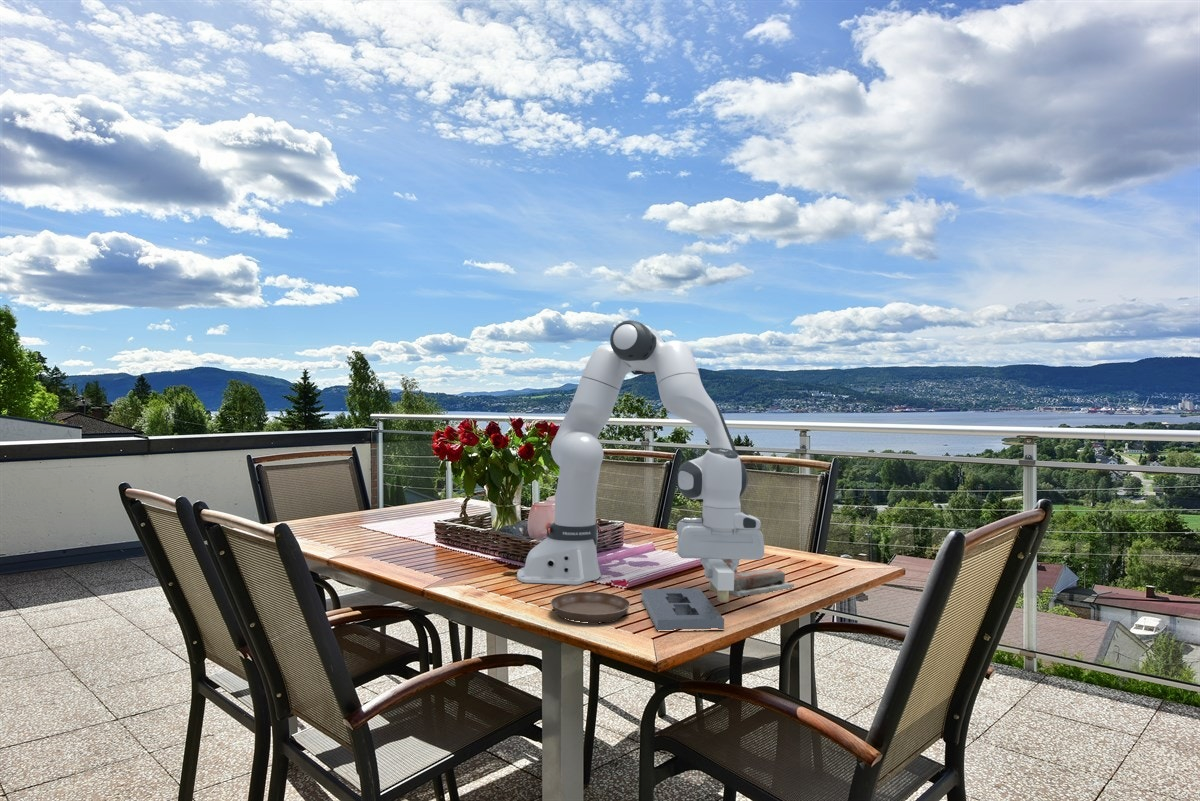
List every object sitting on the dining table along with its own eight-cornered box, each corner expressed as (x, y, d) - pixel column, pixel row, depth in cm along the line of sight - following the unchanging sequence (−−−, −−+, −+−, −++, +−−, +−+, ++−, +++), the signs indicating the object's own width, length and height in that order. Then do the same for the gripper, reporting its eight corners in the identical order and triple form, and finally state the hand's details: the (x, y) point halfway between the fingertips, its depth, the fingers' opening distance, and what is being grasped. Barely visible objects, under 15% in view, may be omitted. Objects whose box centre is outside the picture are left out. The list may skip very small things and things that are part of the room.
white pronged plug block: (733, 604, 164) (734, 572, 164) (717, 603, 164) (718, 572, 164) (719, 587, 178) (720, 558, 178) (705, 587, 178) (706, 558, 178)
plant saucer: (630, 604, 172) (630, 591, 172) (630, 628, 154) (630, 614, 154) (554, 603, 173) (554, 590, 173) (546, 626, 155) (546, 612, 155)
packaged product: (740, 579, 178) (714, 571, 187) (740, 599, 178) (714, 590, 187) (795, 571, 187) (767, 563, 196) (794, 590, 187) (767, 581, 196)
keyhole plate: (723, 630, 153) (724, 618, 153) (657, 631, 152) (657, 619, 152) (699, 598, 177) (699, 588, 177) (641, 599, 176) (641, 589, 176)
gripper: (679, 519, 168) (677, 580, 168) (767, 521, 169) (765, 581, 169) (674, 515, 174) (672, 573, 174) (760, 517, 175) (758, 575, 175)
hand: (719, 577), depth 171 cm, fingers closed on white pronged plug block, 4 cm apart
